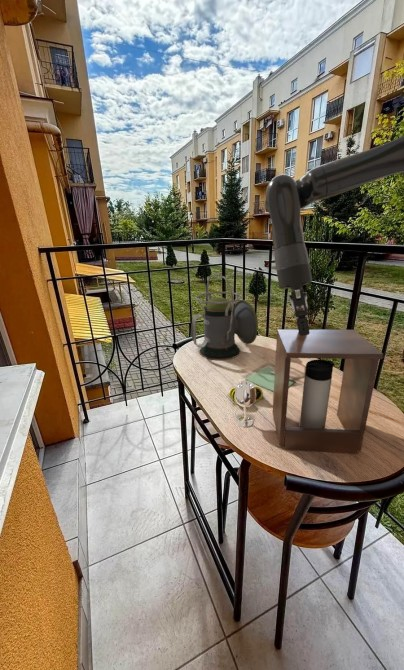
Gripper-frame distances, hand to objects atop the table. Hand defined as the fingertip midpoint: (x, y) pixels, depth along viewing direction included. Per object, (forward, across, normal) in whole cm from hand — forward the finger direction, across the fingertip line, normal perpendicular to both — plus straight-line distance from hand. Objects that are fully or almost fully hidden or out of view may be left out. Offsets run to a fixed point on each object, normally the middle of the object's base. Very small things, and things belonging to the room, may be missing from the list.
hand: (303, 333), depth 67 cm
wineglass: (+23, +5, +19) cm, 31 cm away
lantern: (+8, +54, +32) cm, 63 cm away
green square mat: (+18, +31, +12) cm, 38 cm away
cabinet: (+27, +6, +2) cm, 28 cm away
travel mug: (+27, +6, +2) cm, 28 cm away
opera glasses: (+20, +16, +20) cm, 33 cm away
